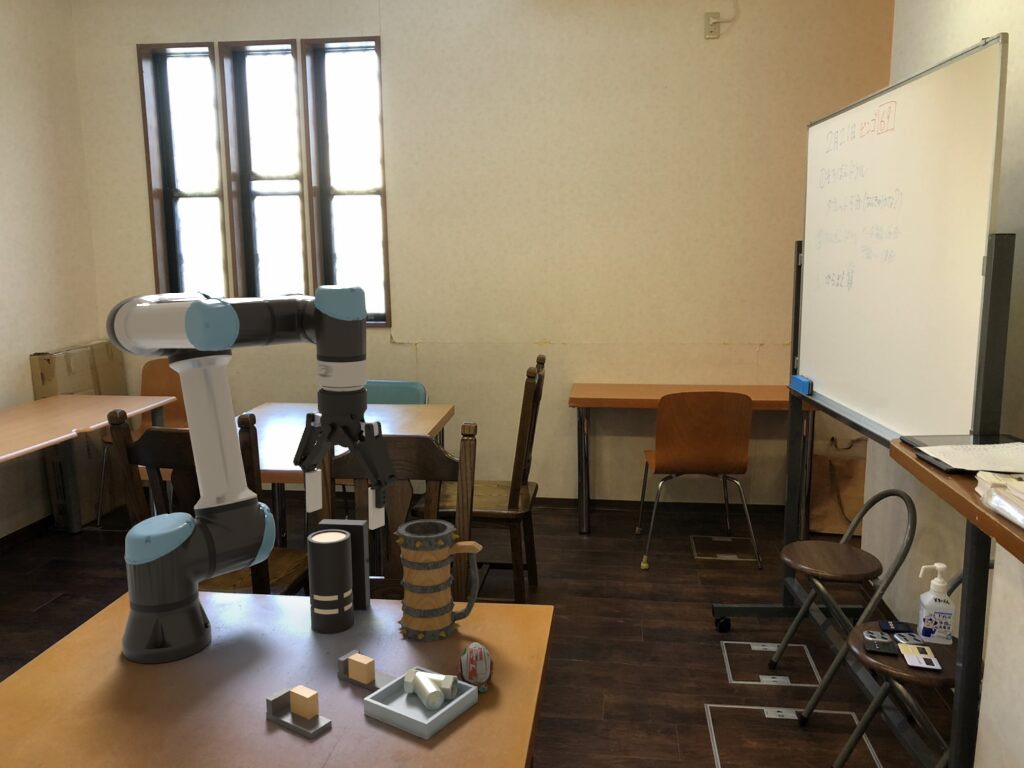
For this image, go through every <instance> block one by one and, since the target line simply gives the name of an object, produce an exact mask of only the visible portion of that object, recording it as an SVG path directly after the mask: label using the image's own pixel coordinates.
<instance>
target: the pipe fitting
mask: <svg viewBox="0 0 1024 768" xmlns="http://www.w3.org/2000/svg"><path fill="white" fill-rule="evenodd" d="M406 672H407V673H406ZM406 672H405V673H406V675H405V678H404V690H405V692H409V693H416V694H417V695H418V697H419V698H420V699H421V701H422V702H423V704H424V705H425V707H426V708H427V709H428V710H436V709H438V708H439V707H440V706H441V705H442V704H443V702H444V699H454V698H455V696H456V694H457V690H458V680H459V678H458V676H457V675H450V674H442V675H440V674H441V673H439V674H434V673H428V672H421V671H420V670H414V669H412V668H411V669H409V668H408V670H407V671H406Z"/></svg>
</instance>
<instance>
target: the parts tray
mask: <svg viewBox="0 0 1024 768" xmlns="http://www.w3.org/2000/svg"><path fill="white" fill-rule="evenodd" d="M411 669H414V670H420V671H421V672H428V673H434V674H440V675H443V674H442V673H440V672H437V671H434V670H430V669H429V668H428V669H427V668H424V667H422V666H419V665H415V666H414V667H412V668H411ZM406 673H407V671H406V672H405V673H403V674H401V675H399V676H398V677H396V679H395V680H393V681H391V682H390V683H388V684H387V685H385V686H384V687H382V688H380V689H379V690H377V691H376V692H374V691H373V693H371V694H369V695H367V696H366V697H364V698H363V714H364V715H366V716H368V717H370V718H372V719H375V720H377V721H380V722H382V723H385V724H387V725H390V726H393V727H395V728H397V729H400V730H402V731H404V732H407V733H409V734H412V735H414V736H417V737H419V738H422V739H424V740H426V741H428V740H429V739H430V738H432V736H434V735H436V734H437V733H438V732H439V731H441V730H442V729H444V728H445V727H447V725H449V724H450V723H451V722H453V721H454V720H455V719H457V718H459V716H461V715H462V714H464V713H465V712H466V711H467V710H469V709H471V708H472V706H474V705H475V704H476V703H478V702H479V698H478V697H479V695H478V693H479V692H478V691H479V690H478V688H479V687H476V685H475V684H472V683H471V684H470V683H469V682H466V681H465V682H462V681H461V680H460V679H458V690H457V694H456V696H455V698H454V699H444V702H443V704H442V705H441V706H440V707H439V708H438V709H436V710H428V709H427V708H426V707H425V705H424V704H423V702H422V701H421V699H420V698H419V697H418V695H417V694H416V693H409V692H405V690H404V678H405V675H406ZM474 685H475V686H474Z"/></svg>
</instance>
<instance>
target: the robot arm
mask: <svg viewBox="0 0 1024 768" xmlns="http://www.w3.org/2000/svg"><path fill="white" fill-rule="evenodd" d="M314 292H315V294H314V296H313V295H306V294H304V293H286V294H281V295H279V296H278V295H277V296H276V295H275V296H261V297H260V296H257V297H256V296H255V297H230V298H226V297H225V296H223V295H222V294H220V293H217V292H201V291H196V292H178V293H176V292H175V293H156V294H155V293H153V294H152V293H149V294H139V295H133V296H131V297H128V298H125V299H123V300H120V301H119V302H118V303H116V305H115V306H113V307H112V308H111V310H110V311H109V313H108V315H107V318H106V325H105V330H106V334H107V337H108V339H109V341H110V343H112V345H113V346H114V347H115V348H117V349H118V350H120V351H121V352H123V353H125V354H128V355H131V356H135V357H142V358H143V357H144V358H153V357H154V358H155V357H167V361H168V366H169V368H171V369H172V370H173V371H174V372H176V373H178V375H179V379H180V385H181V386H180V387H181V391H182V397H183V403H184V409H185V414H186V419H187V420H186V421H187V426H188V431H189V438H190V442H191V448H192V453H193V459H194V466H195V470H196V471H195V472H196V476H197V482H198V483H197V484H198V488H199V494H200V498H199V500H198V501H197V503H196V504H195V505H194V506H193V510H194V514H195V517H193V515H191V514H190V513H187V512H179V511H178V512H172V513H169V514H168V513H162V514H159V515H154V516H152V517H149V518H146V519H144V520H142V521H140V522H139V523H137V524H135V525H133V526H132V527H131V529H130V530H129V531H128V532H127V534H126V536H125V541H124V542H125V544H124V546H125V550H124V560H125V567H126V576H127V587H128V598H129V601H128V602H129V612H128V613H129V614H128V616H127V620H126V623H125V628H124V632H123V635H122V638H121V647H122V648H121V650H122V654H123V656H124V658H125V659H127V660H129V661H131V662H134V663H138V664H140V663H141V664H160V663H162V664H163V663H169V662H172V661H177V660H181V659H184V658H187V657H190V656H192V655H195V654H197V653H198V652H200V651H202V650H203V649H205V648H206V647H207V646H208V645H209V644H210V643H211V641H212V637H213V635H212V625H211V622H210V620H209V618H208V616H207V614H206V611H205V609H204V606H203V604H202V602H201V600H200V594H199V583H200V582H202V581H205V580H208V579H211V578H215V577H218V576H219V577H220V576H222V575H225V574H228V573H231V572H234V571H237V570H243V569H244V570H246V569H249V568H250V567H252V566H255V565H257V564H260V563H262V562H264V561H265V560H267V559H268V557H269V556H270V554H271V552H272V550H273V548H274V545H275V542H276V541H275V540H276V523H275V519H274V515H273V513H271V509H270V508H269V506H268V505H267V504H266V503H263V502H260V501H258V494H257V493H255V492H253V490H251V489H249V487H248V484H247V479H246V473H245V467H244V461H243V457H242V451H241V444H240V439H239V434H238V428H237V421H236V417H235V412H234V405H233V400H232V399H233V398H232V393H231V388H230V382H229V378H228V372H227V371H228V370H227V367H228V364H229V363H230V362H231V360H232V359H233V352H232V351H233V350H234V349H243V348H254V347H264V346H267V347H268V346H275V345H276V346H277V345H279V346H280V345H288V344H289V345H290V344H301V343H303V344H310V345H311V344H312V345H315V346H316V347H315V348H316V374H317V375H316V377H317V381H316V382H317V384H318V385H319V386H320V387H319V388H318V389H316V390H317V411H312V412H308V413H306V415H305V426H304V428H303V429H304V430H303V432H302V435H301V438H300V440H299V443H298V446H297V449H296V452H295V455H294V457H293V460H292V461H293V462H292V463H293V465H294V466H295V467H299V468H300V470H301V471H302V472H303V473H302V474H303V488H304V491H305V500H306V501H305V503H306V504H305V505H306V506H305V507H306V509H305V510H306V513H308V514H309V513H312V512H315V511H318V510H321V509H323V494H322V493H323V490H322V489H323V487H322V486H323V484H322V469H320V467H321V466H320V464H321V462H322V461H323V459H324V458H325V456H326V455H327V454H328V452H329V451H330V449H331V448H332V446H339V447H341V448H346V449H347V448H348V450H349V452H351V453H353V455H354V456H355V458H356V460H357V462H358V464H359V465H360V467H361V468H362V470H363V471H364V473H365V475H366V477H367V479H368V480H369V482H370V484H371V485H372V486H371V487H368V488H367V489H368V530H375V529H378V528H380V527H384V526H385V525H386V524H385V520H386V519H385V507H387V505H388V487H389V486H392V485H395V484H397V483H398V482H399V477H398V473H397V472H396V470H395V467H394V464H393V460H392V458H391V456H390V453H389V450H388V448H387V445H386V442H385V439H384V436H383V429H382V423H381V422H380V420H376V421H373V422H366V420H365V413H366V411H367V410H368V389H367V388H366V387H365V386H366V385H367V383H368V371H367V370H368V369H367V368H368V367H367V364H368V363H367V316H368V312H367V305H366V293H365V291H364V289H363V288H362V287H360V286H357V285H345V284H343V285H340V284H339V285H337V284H336V285H335V284H334V285H332V284H331V285H329V284H327V285H320V286H318V287H316V289H315V291H314ZM321 430H322V432H321ZM317 468H318V469H317Z"/></svg>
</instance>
